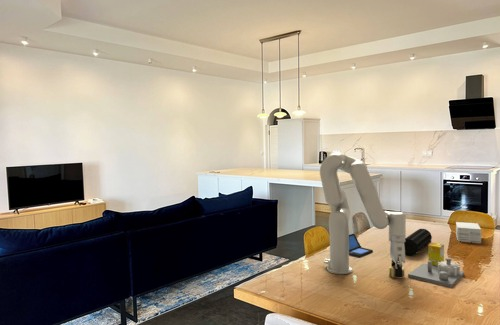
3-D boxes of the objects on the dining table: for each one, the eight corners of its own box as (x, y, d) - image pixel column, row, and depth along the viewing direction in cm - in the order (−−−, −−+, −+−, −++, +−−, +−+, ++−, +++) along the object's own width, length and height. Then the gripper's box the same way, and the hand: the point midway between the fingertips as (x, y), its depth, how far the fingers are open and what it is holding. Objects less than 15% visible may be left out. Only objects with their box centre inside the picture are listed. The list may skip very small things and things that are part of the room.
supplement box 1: (432, 262, 196) (432, 242, 195) (444, 265, 191) (444, 244, 191) (427, 265, 191) (428, 244, 191) (440, 268, 187) (440, 247, 186)
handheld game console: (359, 258, 206) (359, 242, 206) (339, 253, 216) (339, 237, 216) (373, 252, 217) (373, 236, 216) (354, 247, 226) (353, 232, 226)
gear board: (408, 277, 176) (408, 260, 175) (423, 266, 190) (423, 250, 190) (451, 287, 163) (451, 269, 162) (464, 275, 177) (464, 258, 176)
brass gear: (390, 278, 175) (391, 270, 174) (387, 273, 181) (387, 265, 181) (405, 278, 174) (406, 270, 173) (402, 273, 180) (402, 265, 180)
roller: (416, 237, 240) (421, 223, 238) (431, 244, 234) (437, 230, 232) (396, 251, 211) (402, 236, 209) (414, 259, 205) (419, 244, 203)
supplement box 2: (455, 235, 250) (455, 221, 249) (478, 237, 244) (478, 223, 243) (457, 241, 235) (457, 227, 234) (481, 243, 229) (481, 228, 228)
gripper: (410, 242, 167) (409, 281, 168) (400, 233, 184) (400, 268, 186) (393, 242, 168) (392, 280, 170) (385, 233, 186) (384, 267, 187)
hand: (396, 273), depth 178 cm, fingers closed on brass gear, 6 cm apart
